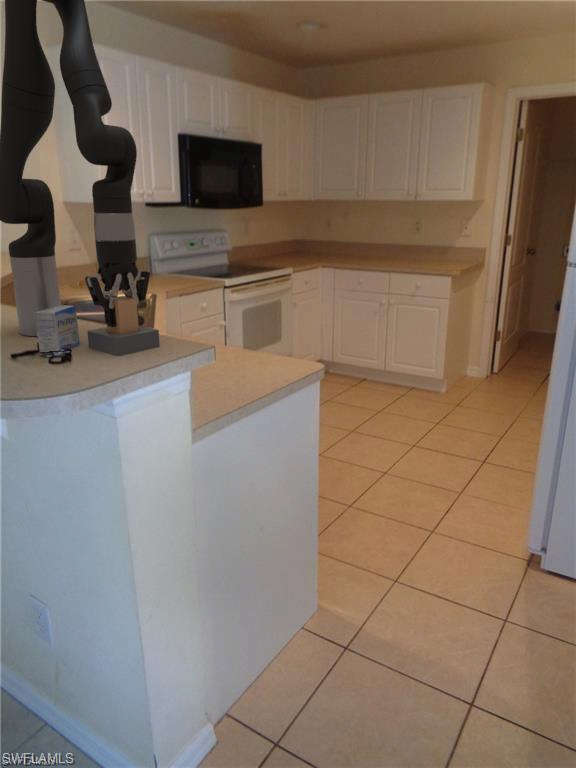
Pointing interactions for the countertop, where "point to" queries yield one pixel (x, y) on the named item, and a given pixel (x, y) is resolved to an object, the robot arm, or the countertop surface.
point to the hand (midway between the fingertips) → (122, 324)
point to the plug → (125, 315)
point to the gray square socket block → (123, 340)
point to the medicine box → (57, 328)
